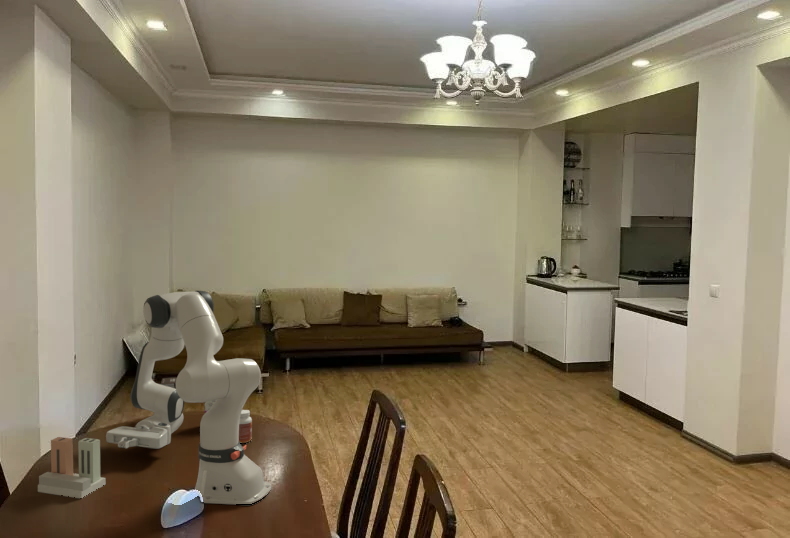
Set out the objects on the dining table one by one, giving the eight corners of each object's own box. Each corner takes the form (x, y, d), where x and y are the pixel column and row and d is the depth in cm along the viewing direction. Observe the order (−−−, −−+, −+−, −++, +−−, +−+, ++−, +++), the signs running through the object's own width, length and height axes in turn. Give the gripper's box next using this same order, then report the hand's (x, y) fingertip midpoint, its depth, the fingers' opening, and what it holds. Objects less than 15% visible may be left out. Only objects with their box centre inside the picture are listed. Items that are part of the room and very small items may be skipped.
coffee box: (178, 423, 244) (177, 383, 243) (160, 424, 242) (160, 383, 241) (178, 415, 253) (178, 376, 251) (161, 416, 251) (161, 377, 249)
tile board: (105, 484, 188) (105, 469, 188) (81, 498, 179) (81, 483, 178) (63, 478, 192) (63, 463, 192) (37, 491, 182) (37, 476, 182)
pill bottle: (254, 442, 226) (254, 412, 225) (237, 445, 223) (237, 415, 222) (248, 437, 231) (248, 408, 230) (231, 440, 228) (232, 410, 227)
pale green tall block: (100, 478, 188) (99, 439, 187) (92, 482, 184) (92, 443, 183) (86, 476, 189) (85, 437, 188) (78, 480, 186) (77, 441, 185)
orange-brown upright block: (73, 477, 188) (72, 438, 187) (65, 481, 185) (64, 442, 184) (59, 475, 189) (58, 436, 188) (51, 479, 186) (50, 440, 185)
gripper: (121, 419, 216) (93, 432, 202) (174, 425, 211) (149, 439, 198) (122, 437, 216) (94, 451, 203) (174, 443, 212) (149, 458, 198)
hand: (121, 445), depth 200 cm, fingers closed
